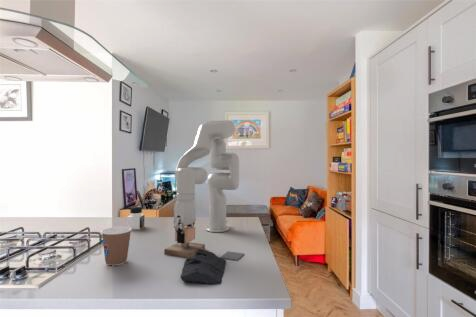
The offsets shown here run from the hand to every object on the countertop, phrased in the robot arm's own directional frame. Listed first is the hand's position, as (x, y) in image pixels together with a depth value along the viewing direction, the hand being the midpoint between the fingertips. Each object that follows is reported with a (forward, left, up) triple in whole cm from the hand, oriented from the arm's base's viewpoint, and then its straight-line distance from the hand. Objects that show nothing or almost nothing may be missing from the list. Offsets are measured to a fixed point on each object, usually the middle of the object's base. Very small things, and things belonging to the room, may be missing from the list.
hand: (185, 240), depth 112 cm
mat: (-2, +20, -5) cm, 21 cm away
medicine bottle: (-24, -47, -5) cm, 53 cm away
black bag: (+15, +16, -5) cm, 23 cm away
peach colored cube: (0, 0, 0) cm, 0 cm away
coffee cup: (+20, -17, -5) cm, 27 cm away
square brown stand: (0, 0, -5) cm, 5 cm away
